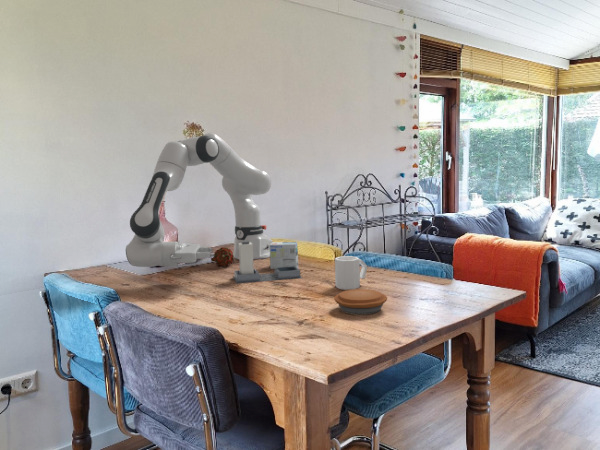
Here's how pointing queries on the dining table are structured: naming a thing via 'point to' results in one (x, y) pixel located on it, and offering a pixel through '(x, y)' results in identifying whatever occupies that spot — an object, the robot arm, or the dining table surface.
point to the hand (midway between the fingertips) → (211, 252)
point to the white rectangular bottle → (246, 258)
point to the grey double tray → (268, 275)
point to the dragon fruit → (223, 257)
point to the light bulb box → (283, 254)
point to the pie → (360, 301)
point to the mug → (349, 272)
